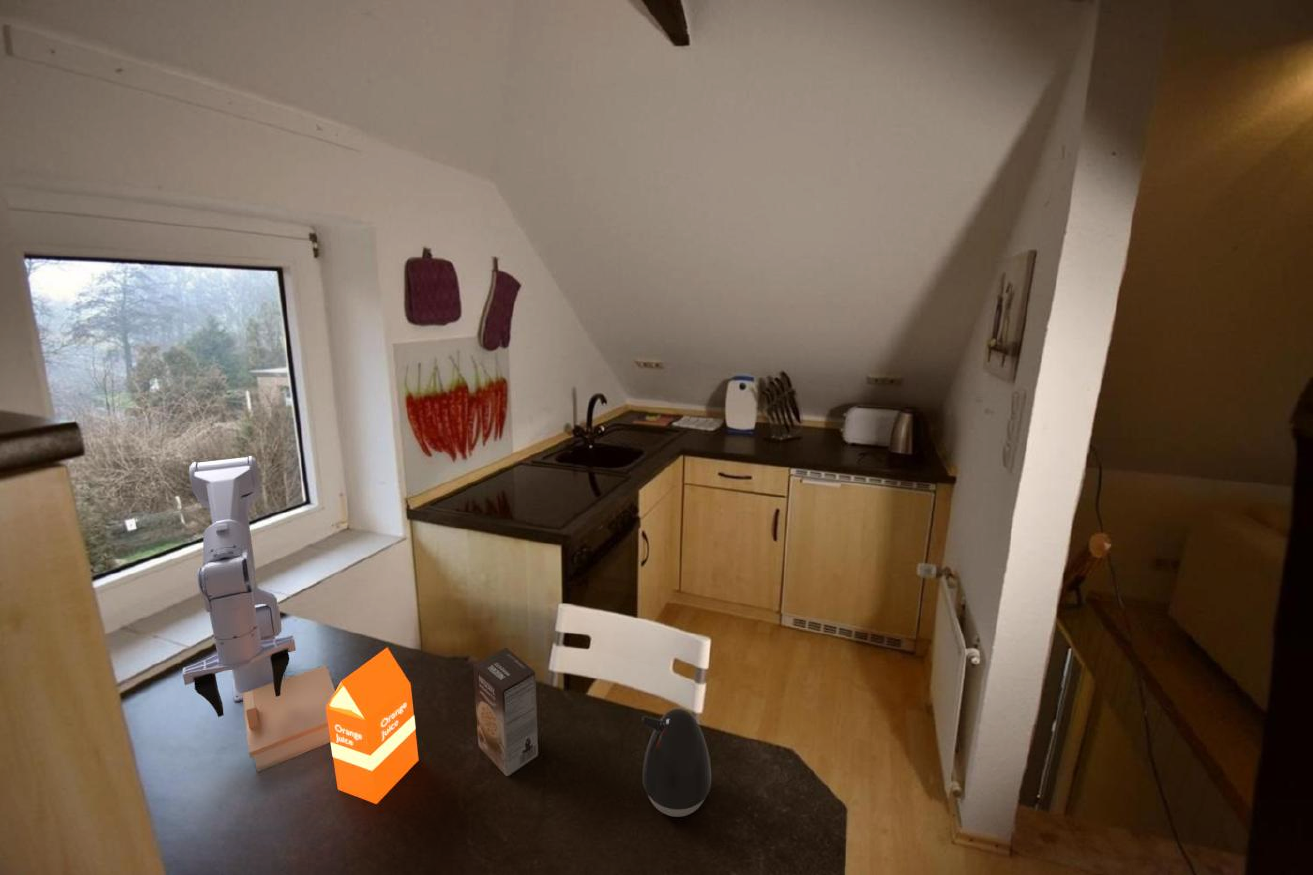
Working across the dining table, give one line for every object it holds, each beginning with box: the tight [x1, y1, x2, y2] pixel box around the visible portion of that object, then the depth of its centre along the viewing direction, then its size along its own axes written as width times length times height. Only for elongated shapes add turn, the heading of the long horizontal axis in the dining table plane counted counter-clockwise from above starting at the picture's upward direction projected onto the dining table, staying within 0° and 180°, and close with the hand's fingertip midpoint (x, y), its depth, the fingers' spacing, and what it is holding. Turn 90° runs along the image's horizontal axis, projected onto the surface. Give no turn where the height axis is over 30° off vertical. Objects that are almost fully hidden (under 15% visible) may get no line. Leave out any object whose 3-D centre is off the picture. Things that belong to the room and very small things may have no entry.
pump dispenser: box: [641, 707, 712, 818], centre depth 83 cm, size 10×10×15 cm
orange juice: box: [326, 646, 419, 805], centre depth 86 cm, size 8×9×20 cm
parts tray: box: [253, 726, 331, 773], centre depth 97 cm, size 16×12×4 cm
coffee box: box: [472, 647, 539, 777], centre depth 91 cm, size 9×6×16 cm
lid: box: [242, 664, 336, 758], centre depth 96 cm, size 17×13×5 cm
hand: (249, 702), depth 93 cm, fingers open, 7 cm apart
